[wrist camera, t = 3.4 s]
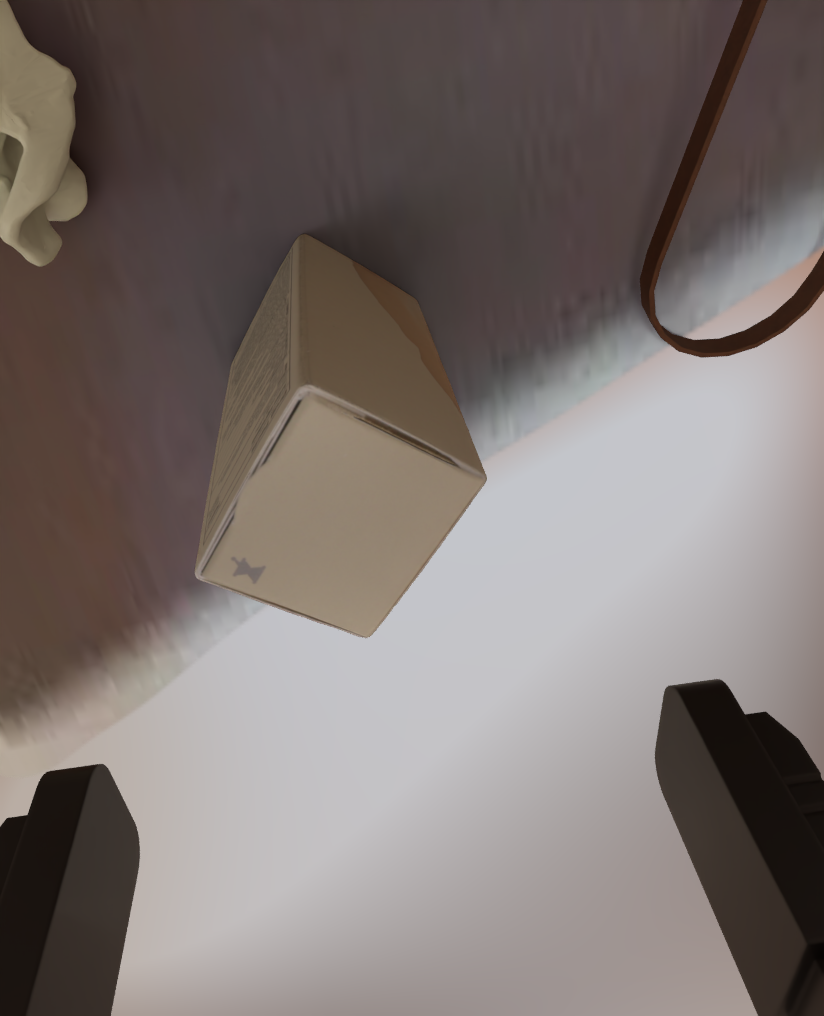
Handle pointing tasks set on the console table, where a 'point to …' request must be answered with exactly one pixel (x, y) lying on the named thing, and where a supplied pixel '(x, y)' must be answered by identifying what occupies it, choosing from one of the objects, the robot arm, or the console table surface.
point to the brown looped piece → (690, 165)
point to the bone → (35, 146)
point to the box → (334, 448)
